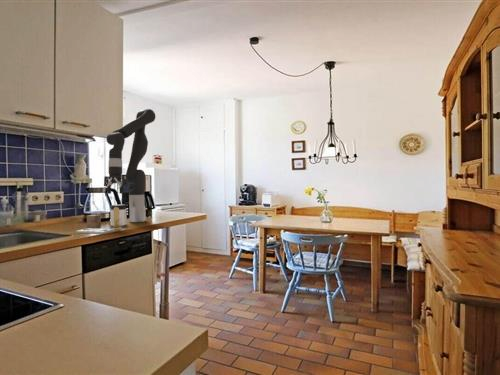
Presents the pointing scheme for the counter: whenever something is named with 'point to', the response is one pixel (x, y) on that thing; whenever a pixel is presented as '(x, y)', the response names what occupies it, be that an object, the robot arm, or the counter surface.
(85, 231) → the drilled plate
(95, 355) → the counter surface
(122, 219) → the jar
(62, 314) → the counter surface
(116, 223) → the brass post
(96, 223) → the walnut block
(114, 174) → the robot arm
